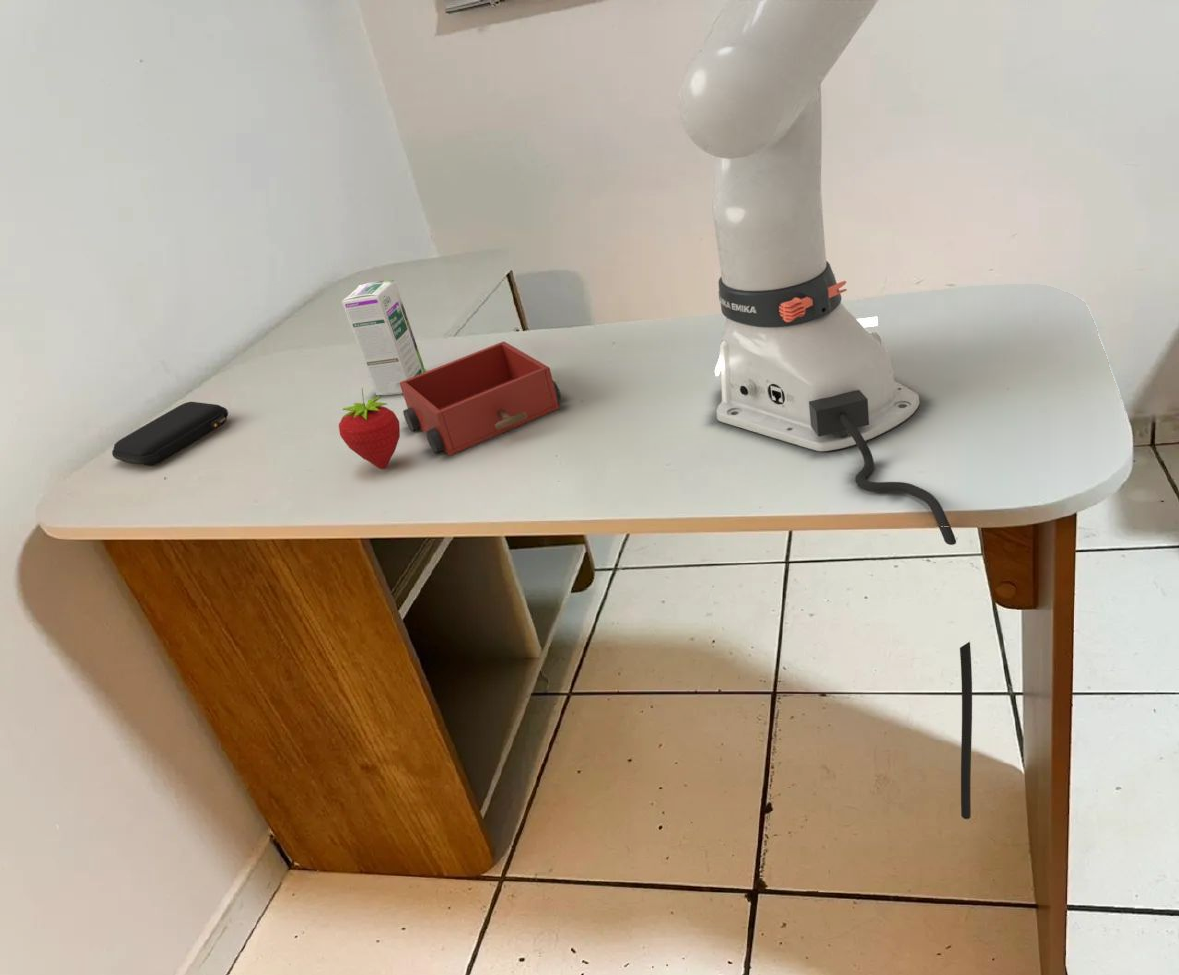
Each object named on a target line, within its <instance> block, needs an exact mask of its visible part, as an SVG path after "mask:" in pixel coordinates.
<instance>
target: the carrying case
mask: <svg viewBox="0 0 1179 975" xmlns="http://www.w3.org/2000/svg"><path fill="white" fill-rule="evenodd" d="M228 416H229V411H228V409H227V408H226V407H224V406H221V405H219V404H216V403H208V402H199V401H188V402H184V403H182V404H180V405H178V406H176V407H175V408H173V409H171V410H169V411H167V412H165V413H164V414H162V415H160V416H159V417H156V418H155V419H153V420H151V421H149V422H148V423H146V424H145V425H143V426H141V427H139V428H138V429H136V430H133V431H132V432H131V433H129V434H128V435H126V436H124V437H122V438H121V439H119V440H117V441H116V442H115V443H114V445H113V449H112V452H111V456H112V457H113V458H114V459H115V460H118V461H122V462H124V463H128V464H129V463H130V464H136V465H141V466H146V467H154V466H157V465H159V464H161V463H164V462H165V461H166V460H168V459H170V458H171V457H173V456H174V455H177V454H179V453H180V452H181V451H183V450H185V449H186V448H187V447H190V446H191V445H192V444H194V443H196V442H198V441H200V440H201V439H202V438H204V437H206V436H208V435H209V434H210V433H213V432H214V431H215V430H217V429H218V428H220V427H221V426H223V425H224V424H225V423H226V422H227V420H228Z"/></svg>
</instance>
